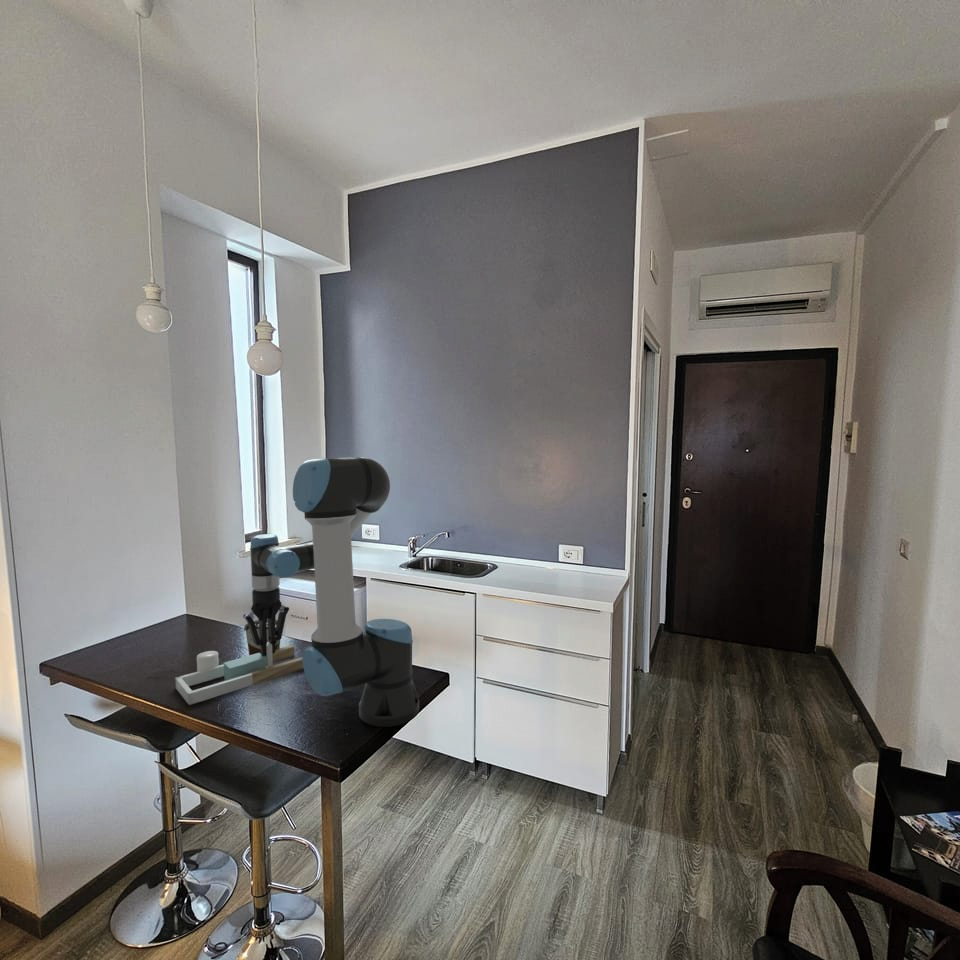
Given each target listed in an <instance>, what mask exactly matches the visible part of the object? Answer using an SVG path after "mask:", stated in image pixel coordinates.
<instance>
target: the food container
mask: <svg viewBox="0 0 960 960" xmlns="http://www.w3.org/2000/svg"><path fill="white" fill-rule="evenodd" d="M277 620H278V619H276V621H275V630H276V625H277ZM253 621H254V623H255V626H256V629H257V632H258V635H259V621H258V620H253ZM266 628H267V642H269V640H268V619H267V623H266ZM243 631H244V632H245V636H246V642H247V643H246V645H247V651H248V656H249V655H253V654H256V653H260V654H261V646H260V645H259V646H257V645H256V644H255V643H254V642H253V639H252V636H251V632H250V629H249V626H248V623H247V622H246V624H245V625H244V626H243ZM259 639H260V635H259ZM276 642H277V643H276V644H275V650H277V649H280V647H281V639H280V640H277V641H276Z"/></svg>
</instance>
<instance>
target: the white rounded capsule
mask: <svg viewBox="0 0 960 960" xmlns="http://www.w3.org/2000/svg"><path fill="white" fill-rule="evenodd" d="M219 665H220V662H219V652H218V651H216V650H208V651H204V652H200V653H199V654H197V655H196V672H198V671H201V670H205V669H208V668H212V667H216V666H219Z"/></svg>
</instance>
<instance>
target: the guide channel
mask: <svg viewBox="0 0 960 960" xmlns="http://www.w3.org/2000/svg"><path fill="white" fill-rule="evenodd" d="M295 654H296V653H295V646H294V645H288V646H285V647H282V648H280V649H277V650H275V653H274V654H272V658H273V663H274V662H275V663H276V662H278V661H282V660H285V659H288V658H291V657H294V656H295ZM300 670H304V668H303V662H302V656H301V657H300V656H299V657H298V658H294V659H291V660H287V661H284V662H281V663H278V664H275V665H274V664H273V666H270V667H267V666H266V668H264V669H260V670H257V671H254V672H250V673H251V674H252V677H253V685H252V686H254V685H257V684H259V683H263V682H266V681H269V680H272V679H275V678H278V677H282V676H285V675H288V674H292V673H294V672H298V671H300Z"/></svg>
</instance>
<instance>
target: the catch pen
mask: <svg viewBox="0 0 960 960" xmlns="http://www.w3.org/2000/svg"><path fill="white" fill-rule="evenodd" d="M222 677H224V663H223V664H219V666H216V667H212V668H208V669H205V670H201V671H198V672H197V671H195V672H191V673H188V674H187V673H186V674H184V675H179V676H178V677H177V676H176V677H174V678H175V679H174V680H175V681H174V682H175V689H176V690H177V692H178V693H179V694H180V696H181V697H182V699H184V701H185V702H186V703H187V704H188V705H189V706H191V705H194V704H197V703H200V702H203V701H207V700H210V699H213V698H216V697H219V696H223V695H225V694H229V693H231V692H236V691H238V690H241V689H244V688H247V687H251V686H254V685H253V677H252V674H251V673H250V674H246V675H243V676H240V677H237V678H233V679H230V680H227V681H225V680H223V681H220V682H216V683H213V684H211V685H207V686H204V687H201V688H197V689H194V690H192V688H190V687H191V686H194V685H198V684H202V683H205V682H208V681H212V680H216V679H218V678H222Z"/></svg>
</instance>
